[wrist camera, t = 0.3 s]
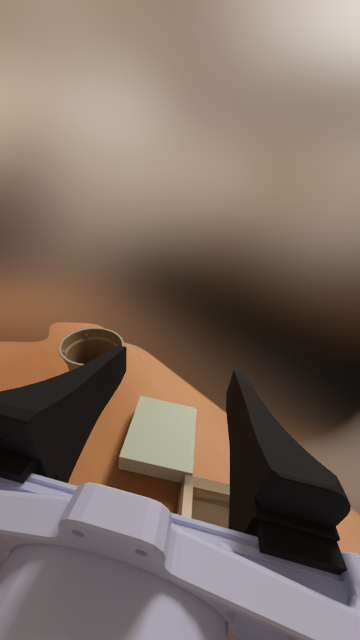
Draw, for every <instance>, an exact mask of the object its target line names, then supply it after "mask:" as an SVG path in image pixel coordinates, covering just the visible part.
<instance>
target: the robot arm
mask: <svg viewBox="0 0 360 640" xmlns="http://www.w3.org/2000/svg"><path fill="white" fill-rule="evenodd" d="M125 372H126V347H124V346H119V345H117V346H115V347H114V348H112V349H110V350H109V351H107V352H105V353H104V354H102V355H100V356H98V357H97V358H95V359H93V360H91V361H89V362H87V363H85V364H83V365H82V366H80V367H78V368H75V369H73V370H71V371H69V372H66V373H64V374H61V375H59V376H56V377H53V378H50V379H47V380H44V381H41V382H38V383H34V384H31V385H27V386H23V387H19V388H15V389H10V390H5V391H1V392H0V640H360V554H357V553H353V552H340V549H339V546H338V543H337V541H339V540H340V537H339V534H338V532H337V529H336V526H337V525H338V524H339V523H340V522H341V521H342V520H343V519H344V518H345V517H346V516H347V515H348V513H349V512H350V506H351V505H350V503H349V501H348V499H347V497H346V494H345V492H344V490H343V488H342V486H341V484H340V482H339V480H338V478H337V476H336V475H334V474H333V473H332V472H331V471H329V470H328V469H327V468H326V467H325V466H323V465H322V464H321V463H320V462H318V461H317V460H316V459H315V458H314V457H313V456H311V455H310V454H309V453H308V452H307V451H306V450H305V449H303V447H301V446H300V445H299V444H298V443H297V442H296V441H295V440H294V439H293V438H292V437H291V436H290V435H289V434H288V432H287V431H285V429H284V428H283V427H282V426H281V425H280V424H279V423H278V421H277V420H276V419H275V418H274V417H273V416H272V414H271V413H270V412H269V410H268V409H267V408H266V406H265V405H264V403H263V402H262V400H261V399H260V398H259V396H258V394H257V393H256V391H255V390H254V388H253V387H252V385H251V383H250V381H249V380H248V378H247V376H246V374H245V373H244V372H243V371H239V370H234V371H233V375H232V377H231V381H230V384H229V387H228V390H227V397H226V411H227V422H228V432H229V442H230V498H229V526H228V529H227V528H224V527H220V526H217V525H213V524H210V523H206V522H203V521H199V520H196V519H192V518H188V517H185V516H181V515H178V514H174V513H171V512H170V511H169V509H168V508H167V507H166V506H164V505H163V504H162V503H161V502H158V501H156V500H154V499H151V498H148V497H144V496H141V495H137V494H134V493H130V492H126V491H123V490H119V489H116V488H112V487H109V486H105V485H101V484H97V483H89V482H88V483H84V484H81V485H79V486H75V485H72V484H68V481H69V478H70V476H71V474H72V471H73V469H74V467H75V465H76V463H77V460H78V458H79V456H80V454H81V452H82V450H83V447H84V445H85V443H86V441H87V439H88V437H89V435H90V433H91V431H92V429H93V427H94V425H95V423H96V421H97V420H98V418H99V416H100V414H101V413H102V411H103V409H104V408H105V406H106V405H107V403H108V402H109V400H110V399H111V397H112V396H113V394H114V392H115V391H116V389H117V388H118V386H119V385H120V383H121V381H122V379H123V376H124V374H125Z"/></svg>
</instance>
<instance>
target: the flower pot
mask: <svg viewBox="0 0 360 640" xmlns="http://www.w3.org/2000/svg"><path fill="white" fill-rule="evenodd" d="M117 345H119V346H124V341H123V339H122V338H121V336H120V335H118V334H117V333H115V332H113V331H111V330H108V329H104V328H85V329H80V330H77V331H74V332H72V333H70V334H69V335H67V336H66V337H65V338H64V339H63V340H62V341H61V342H60V344H59V349H58V350H59V354H60V356H61V357H62V358H63V359H64V361H65V362H66V364H67V365H68V368H69V371H71V370H73V369H75V368H78V367H80V366H82V365H83V364H85V363H87V362H89V361H91V360H93V359H95V358H97V357H98V356H100V355H102V354H104V353H105V352H107V351H109V350H110V349H112V348H114V347H115V346H117Z"/></svg>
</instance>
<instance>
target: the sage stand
mask: <svg viewBox="0 0 360 640" xmlns="http://www.w3.org/2000/svg"><path fill="white" fill-rule="evenodd" d="M195 426H196V408H193V407H189V406H184V405H180V404H175V403H171V402H166V401H162V400H157V399H153V398H149V397H144V396H140V399H139V402H138V404H137V407H136V410H135V413H134V416H133V419H132V421H131V424H130V427H129V430H128V433H127V436H126V438H125V441H124V444H123V447H122V450H121V453H120V456H119V466H118V469H121V470H126V471H130V472H135V473H139V474H143V475H148V476H152V477H156V478H161V479H165V480H169V481H174V482H178V483H182V481H183V478H184V476H185V475H190V476H192V474H193V463H194V445H195Z"/></svg>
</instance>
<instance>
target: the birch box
mask: <svg viewBox="0 0 360 640" xmlns="http://www.w3.org/2000/svg"><path fill="white" fill-rule="evenodd" d="M229 498H230V485H229V484H225V483H220V482H216V481H211V480H207V479H203V478H198V477H194V476H190V475H185V476H184V478H183V481H182V483H181V486H180V489H179V499H178V509H177V514H178V515H181V516H185V517H188V518H192V519H196V520H199V521H203V522H206V523H210V524H213V525H217V526H220V527H224V528H227V529H228V526H229Z"/></svg>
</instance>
